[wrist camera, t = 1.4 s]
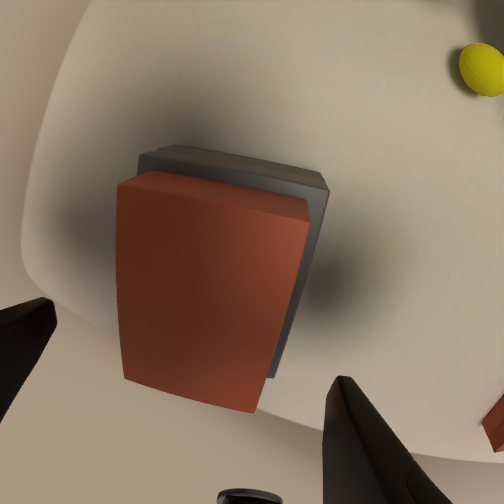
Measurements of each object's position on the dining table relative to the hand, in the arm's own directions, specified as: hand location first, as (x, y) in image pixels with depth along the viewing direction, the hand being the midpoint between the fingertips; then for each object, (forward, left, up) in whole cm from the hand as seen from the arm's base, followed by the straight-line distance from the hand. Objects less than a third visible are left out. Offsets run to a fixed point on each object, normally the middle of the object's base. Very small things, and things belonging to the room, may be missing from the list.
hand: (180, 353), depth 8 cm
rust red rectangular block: (0, 0, -4) cm, 4 cm away
